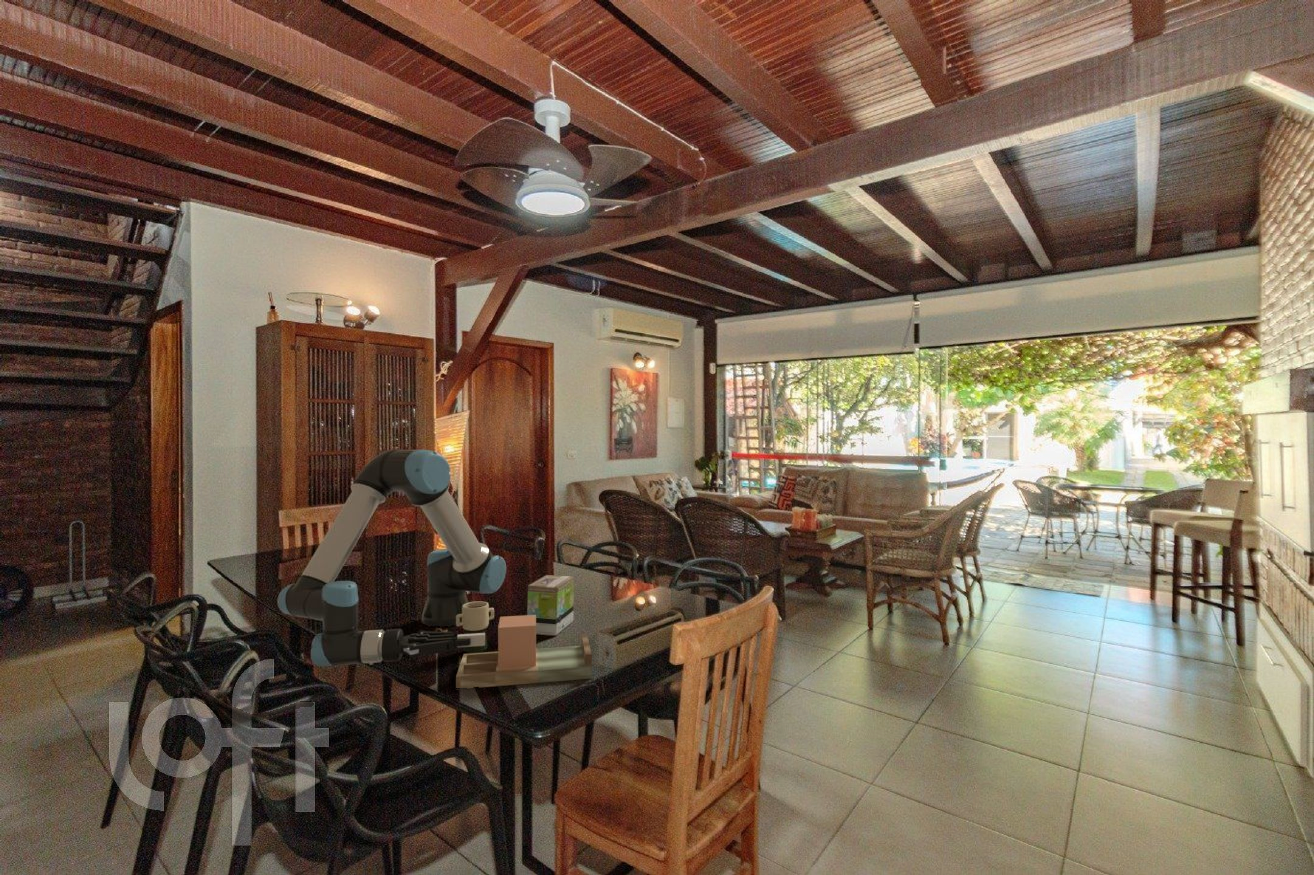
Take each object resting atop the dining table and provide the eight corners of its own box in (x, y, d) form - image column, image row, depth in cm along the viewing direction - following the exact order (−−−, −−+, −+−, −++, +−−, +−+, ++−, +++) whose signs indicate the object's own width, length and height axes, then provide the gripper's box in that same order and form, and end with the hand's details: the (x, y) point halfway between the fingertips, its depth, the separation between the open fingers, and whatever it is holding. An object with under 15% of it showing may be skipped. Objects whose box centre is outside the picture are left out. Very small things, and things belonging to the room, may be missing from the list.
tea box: (557, 636, 180) (557, 586, 180) (526, 634, 182) (525, 585, 182) (574, 621, 195) (574, 575, 195) (545, 619, 197) (545, 573, 197)
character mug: (489, 643, 174) (488, 598, 174) (499, 650, 169) (499, 603, 168) (451, 652, 167) (451, 605, 167) (461, 659, 162) (460, 611, 162)
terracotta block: (500, 655, 157) (500, 616, 157) (536, 652, 158) (535, 614, 158) (498, 668, 148) (498, 627, 148) (535, 665, 150) (535, 625, 149)
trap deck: (463, 665, 158) (463, 642, 158) (587, 656, 164) (586, 634, 164) (456, 689, 143) (455, 663, 143) (591, 678, 149) (591, 654, 149)
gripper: (390, 651, 153) (487, 645, 158) (377, 671, 141) (482, 663, 145) (390, 622, 153) (486, 616, 158) (376, 639, 140) (482, 632, 145)
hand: (484, 639), depth 151 cm, fingers closed
